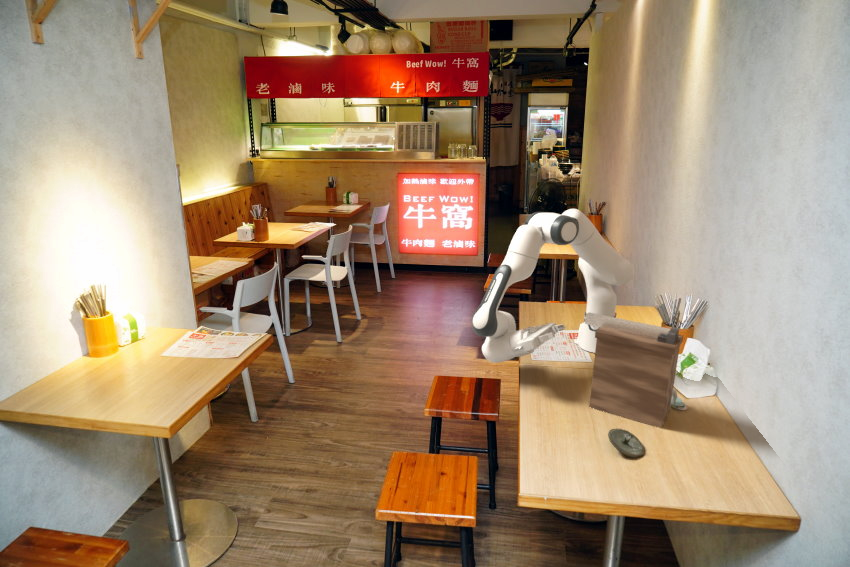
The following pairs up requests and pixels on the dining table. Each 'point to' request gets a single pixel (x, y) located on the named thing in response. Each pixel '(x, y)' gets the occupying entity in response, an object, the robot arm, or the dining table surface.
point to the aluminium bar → (626, 325)
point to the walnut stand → (635, 374)
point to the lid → (626, 443)
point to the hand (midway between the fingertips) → (558, 330)
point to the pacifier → (677, 401)
